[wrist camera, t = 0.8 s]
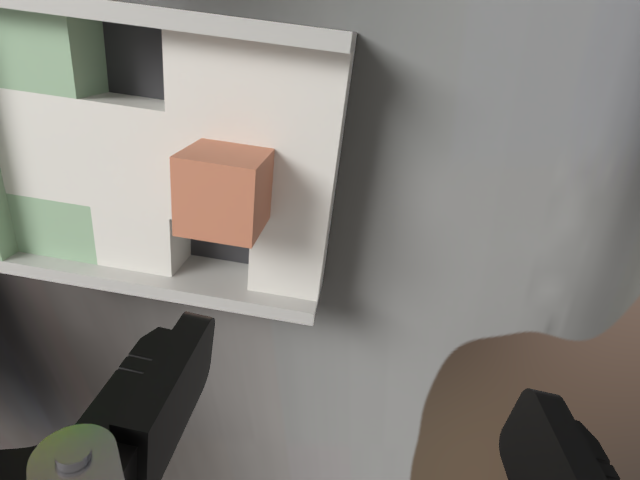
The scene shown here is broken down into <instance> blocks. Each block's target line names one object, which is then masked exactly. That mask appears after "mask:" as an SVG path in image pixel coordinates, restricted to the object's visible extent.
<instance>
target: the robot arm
mask: <svg viewBox="0 0 640 480" xmlns="http://www.w3.org/2000/svg"><path fill="white" fill-rule="evenodd" d="M214 327H215V319H214V318H212V317H208V316H203V315H199V314H194V313H190V312H184V313H183V314H182V316H181V317H180V319H179V320H178V322H177V323H176V325H175V326H174V328H173V329H172V330H170V329H166V328H161V327H158V328H156V329H155V330H153V331H151V332H150V333H148V334H147V335H145V336H143V337H142V338H140V340H139V341H138V342H137V344H136V345H135V346H134V348H133V349H132V350H131V352H130V353H129V356H128V357H126V358H125V359H124V361H123V362H122V363H121V365H120V366H119V369H118V370H116V371H115V373H114V374H113V375H112V377H111V378H110V379H109V381H108V382H107V383H106V385H105V386H104V387H103V389H102V390H101V391H100V393H99V394H98V395H97V397H96V398H95V399H94V401H93V402H92V403H91V405H90V406H89V407H88V408H87V410H86V411H85V412H84V414H83V415H82V416H81V418H80V419H79V420H78V421H77V423H76V424H75V425H72V426H68V427H65V428H62V429H60V430H58V431H56V432H54V433H52V434H51V435H49V436H48V437H46V438H45V439H44V440H42V441H41V442H40V443H39V444H38V445H37V446H32V447H27V448H19V449H5V450H0V480H161V479H162V477H163V474H164V472H165V470H166V468H167V466H168V464H169V461H170V459H171V457H172V455H173V453H174V451H175V449H176V446H177V444H178V442H179V440H180V438H181V436H182V434H183V431H184V429H185V427H186V425H187V423H188V421H189V418H190V416H191V414H192V412H193V410H194V408H195V406H196V403H197V401H198V399H199V397H200V395H201V393H202V391H203V388H204V386H205V383H206V380H207V377H208V373H209V369H210V363H211V354H212V345H213V336H214ZM499 450H500V456H501V459H502V462H503V465H504V468H505V471H506V474H507V477H508V480H620V478H619V476H618V474H617V472H616V471H615V469H614V467H613V466H612V465H610V461H609V459H608V457H607V455H606V454H605V452H604V450H603V449H602V447H601V445H600V443H599V442H598V440H597V439H596V438H595V437H594V436H593V435H592V434H591V433H590V432H589V431H588V430H587V429H586V428H585V426H584V425H583V424H582V423H581V422H580V421H577V420H574V418H573V416H572V414H571V412H570V410H569V409H568V407H567V405H566V403H565V401H564V400H563V398H562V397H561V396H559V395H556V394H552V393H547V392H542V391H538V390H533V389H525V390H524V391H523V392H522V393H521V395H520V397H519V399H518V400H517V402H516V404H515V407H514V408H513V410H512V412H511V414H510V415H509V418H508V419H507V421H506V423H505V425H504V427H503V429H502V431H501V434H500V440H499Z"/></svg>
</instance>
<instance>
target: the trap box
mask: <svg viewBox="0 0 640 480" xmlns="http://www.w3.org/2000/svg"><path fill="white" fill-rule="evenodd" d="M356 39H357V32H349V31H342V30H334V29H326V28H318V27H311V26H303V25H295V24H287V23H280V22H272V21H264V20H256V19H249V18H241V17H233V16H226V15H218V14H210V13H202V12H195V11H187V10H179V9H171V8H164V7H156V6H148V5H140V4H133V3H125V2H117V1H110V0H0V273H4V274H10V275H16V276H22V277H28V278H33V279H39V280H45V281H51V282H57V283H63V284H69V285H75V286H80V287H86V288H92V289H98V290H104V291H110V292H116V293H121V294H127V295H133V296H139V297H145V298H151V299H157V300H163V301H168V302H174V303H180V304H186V305H192V306H198V307H204V308H210V309H215V310H221V311H227V312H233V313H239V314H245V315H251V316H257V317H262V318H268V319H274V320H280V321H286V322H292V323H298V324H304V325H309V326H313V324H314V319H315V315H316V311H317V306H318V302H319V297H320V293H321V288H322V283H323V276H324V269H325V262H326V255H327V247H328V240H329V233H330V226H331V219H332V212H333V204H334V197H335V190H336V183H337V176H338V168H339V161H340V154H341V147H342V140H343V132H344V125H345V118H346V111H347V104H348V96H349V89H350V82H351V75H352V68H353V60H354V53H355V46H356ZM201 138H205V139H212V140H219V141H226V142H232V143H239V144H246V145H253V146H260V147H266V148H273V149H275V154H274V169H273V183H272V197H271V211H270V219H269V220H268V222H267V224H266V225H265V227H264V229H263V230H262V232H261V234H260V235H259V237H258V239H257V241H256V242H255V244H254V246H253V247H252V249H250V248H244V247H238V246H232V245H225V244H219V243H213V242H207V241H201V240H194V239H188V238H182V237H176V236H172V210H171V184H170V158H169V157H170V156H172V155H173V154H175V153H177V152H179V151H180V150H182V149H184V148H185V147H187V146H189V145H191V144H192V143H194V142H196V141H197V140H199V139H201Z"/></svg>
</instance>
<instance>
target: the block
mask: <svg viewBox="0 0 640 480" xmlns="http://www.w3.org/2000/svg"><path fill="white" fill-rule="evenodd" d="M274 154H275V149H273V148H266V147H260V146H253V145H246V144H239V143H232V142H226V141H219V140H212V139H205V138H201V139H199V140H197V141H196V142H194V143H192V144H191V145H189V146H187V147H185V148H184V149H182V150H180V151H179V152H177V153H175V154H173V155H172V156H170V157H169V158H170V184H171V210H172V236H176V237H182V238H188V239H194V240H201V241H207V242H213V243H219V244H225V245H232V246H238V247H244V248H250V249H252V247H253V246H254V244H255V242H256V241H257V239H258V237H259V235H260V234H261V232H262V230H263V229H264V227H265V225H266V224H267V222H268V220H269V219H270V211H271V197H272V183H273V169H274Z"/></svg>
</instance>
